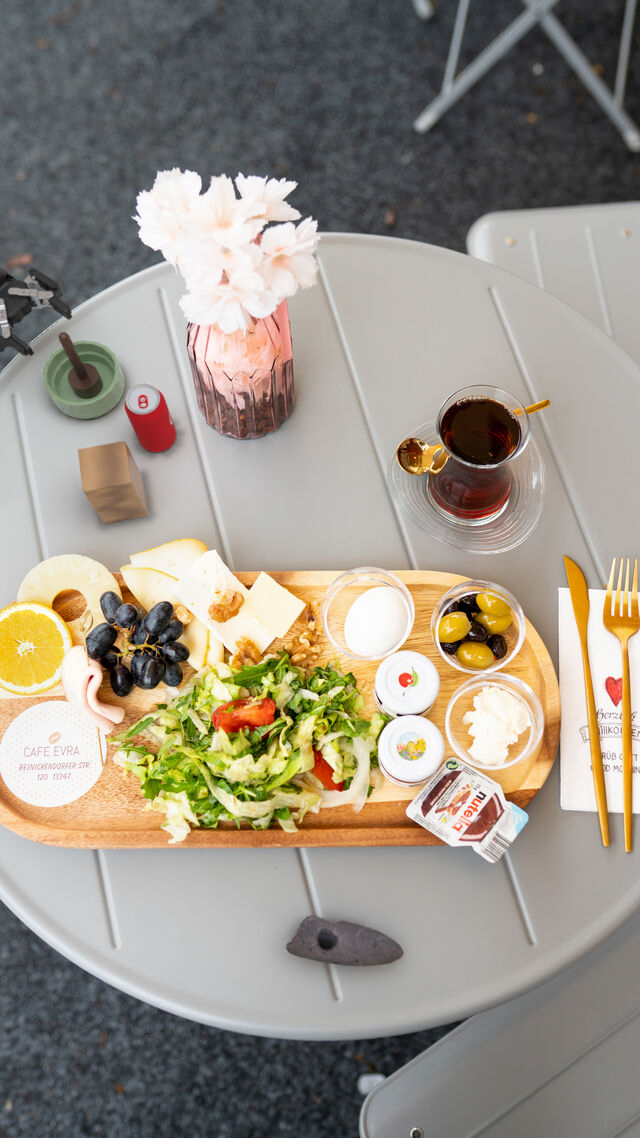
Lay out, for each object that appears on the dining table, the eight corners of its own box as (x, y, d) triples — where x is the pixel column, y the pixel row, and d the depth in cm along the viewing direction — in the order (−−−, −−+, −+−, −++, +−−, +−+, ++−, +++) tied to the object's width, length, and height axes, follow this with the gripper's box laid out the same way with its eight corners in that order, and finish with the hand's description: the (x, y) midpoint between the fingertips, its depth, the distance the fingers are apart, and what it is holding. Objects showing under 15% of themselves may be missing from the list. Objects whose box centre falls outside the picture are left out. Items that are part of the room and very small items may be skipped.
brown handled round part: (74, 401, 136) (47, 351, 122) (71, 376, 137) (44, 323, 124) (104, 396, 136) (80, 345, 123) (101, 370, 138) (77, 317, 124)
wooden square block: (104, 524, 129) (82, 491, 118) (98, 484, 132) (77, 449, 120) (148, 515, 130) (131, 482, 118) (142, 476, 132) (125, 440, 121)
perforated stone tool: (404, 931, 109) (409, 935, 102) (398, 974, 107) (403, 981, 101) (293, 909, 110) (291, 911, 103) (286, 951, 108) (283, 957, 102)
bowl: (56, 427, 135) (47, 411, 130) (49, 365, 139) (39, 347, 134) (130, 413, 136) (123, 397, 131) (121, 352, 140) (113, 334, 135)
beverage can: (175, 418, 136) (161, 377, 124) (179, 451, 133) (165, 412, 122) (137, 424, 135) (120, 383, 124) (141, 457, 133) (123, 419, 122)
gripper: (18, 267, 137) (88, 318, 134) (-44, 324, 134) (26, 377, 130) (2, 235, 130) (75, 288, 127) (-65, 294, 126) (8, 350, 123)
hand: (50, 333), depth 128 cm, fingers open, 8 cm apart
